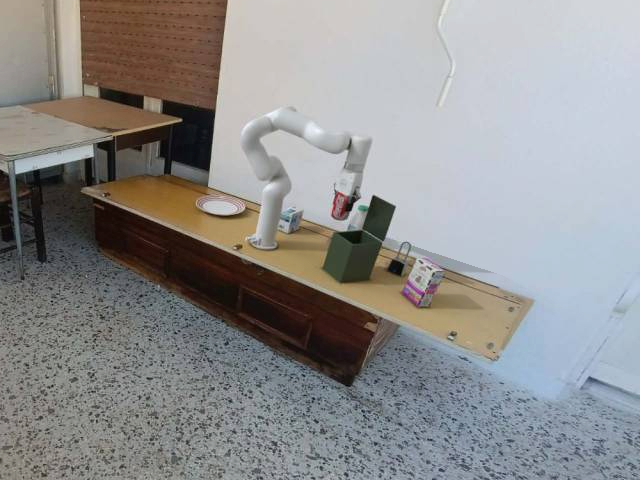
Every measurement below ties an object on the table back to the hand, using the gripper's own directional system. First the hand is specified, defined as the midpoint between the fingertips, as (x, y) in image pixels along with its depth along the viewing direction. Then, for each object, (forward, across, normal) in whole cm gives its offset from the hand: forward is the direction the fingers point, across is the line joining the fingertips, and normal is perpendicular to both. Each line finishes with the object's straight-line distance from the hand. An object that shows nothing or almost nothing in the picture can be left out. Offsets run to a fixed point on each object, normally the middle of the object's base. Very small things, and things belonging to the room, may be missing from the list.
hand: (342, 207), depth 194 cm
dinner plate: (+26, -67, -22) cm, 75 cm away
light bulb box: (+27, -36, +3) cm, 45 cm away
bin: (+27, +11, +2) cm, 29 cm away
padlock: (+27, +14, +26) cm, 40 cm away
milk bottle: (+27, -14, +24) cm, 39 cm away
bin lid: (+1, +11, +9) cm, 14 cm away
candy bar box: (+27, +35, +17) cm, 48 cm away
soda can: (+5, 0, 0) cm, 5 cm away
